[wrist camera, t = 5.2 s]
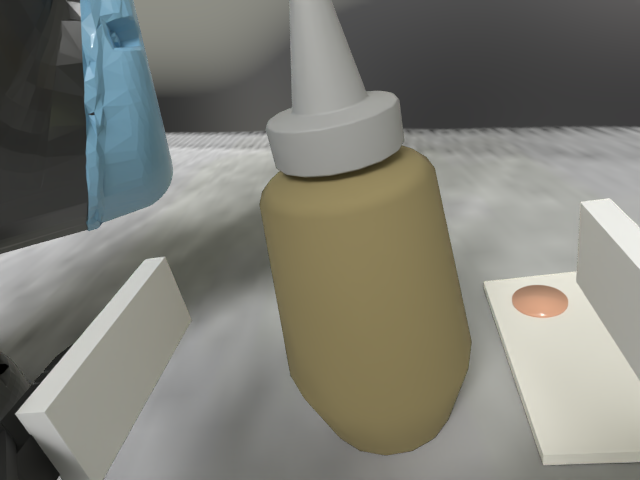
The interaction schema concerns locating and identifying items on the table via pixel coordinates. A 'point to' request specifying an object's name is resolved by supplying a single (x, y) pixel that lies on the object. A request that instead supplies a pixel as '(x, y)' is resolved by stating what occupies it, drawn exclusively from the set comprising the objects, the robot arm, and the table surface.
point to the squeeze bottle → (360, 252)
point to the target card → (567, 371)
